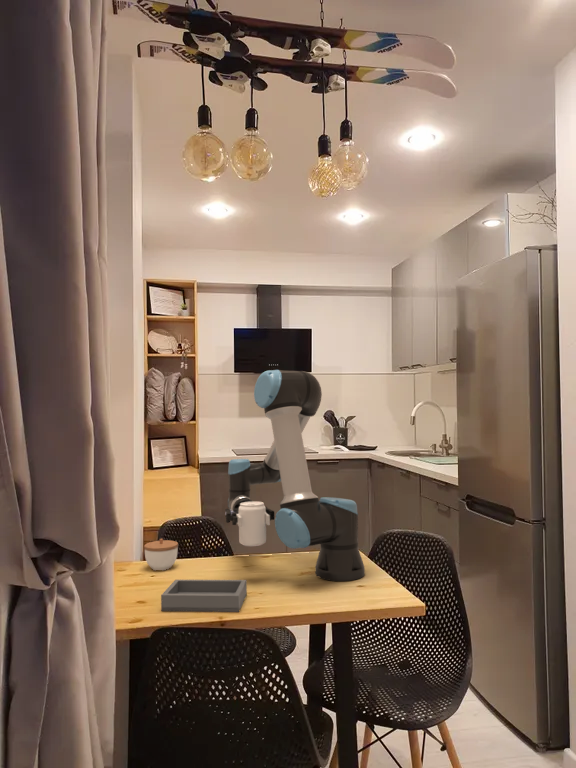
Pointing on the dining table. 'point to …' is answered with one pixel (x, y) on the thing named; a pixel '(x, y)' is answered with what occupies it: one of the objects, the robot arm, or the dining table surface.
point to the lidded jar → (161, 554)
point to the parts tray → (204, 595)
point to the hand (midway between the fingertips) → (254, 521)
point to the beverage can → (252, 523)
